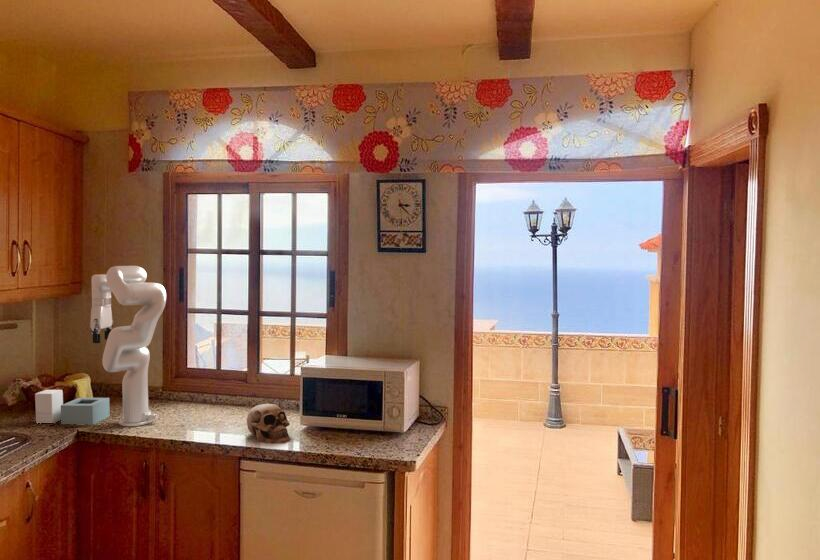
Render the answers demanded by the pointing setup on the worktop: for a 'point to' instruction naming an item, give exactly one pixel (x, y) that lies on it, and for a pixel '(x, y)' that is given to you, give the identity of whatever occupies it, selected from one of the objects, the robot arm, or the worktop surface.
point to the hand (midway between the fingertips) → (102, 341)
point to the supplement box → (48, 406)
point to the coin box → (85, 411)
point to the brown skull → (268, 423)
